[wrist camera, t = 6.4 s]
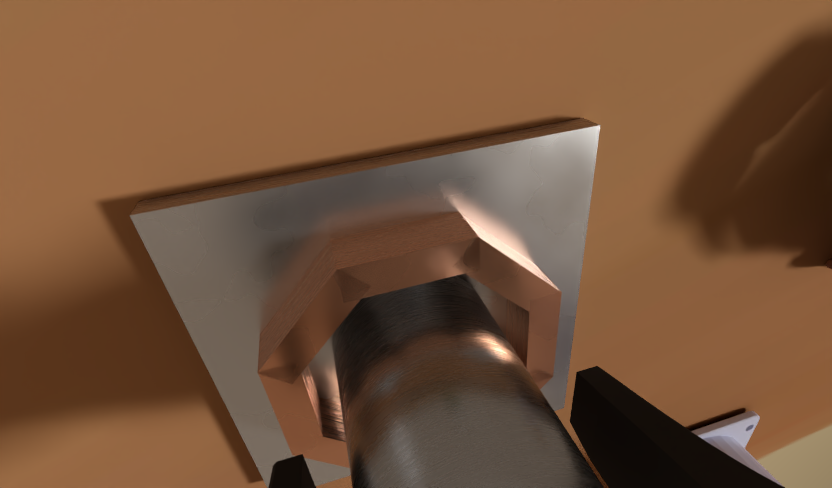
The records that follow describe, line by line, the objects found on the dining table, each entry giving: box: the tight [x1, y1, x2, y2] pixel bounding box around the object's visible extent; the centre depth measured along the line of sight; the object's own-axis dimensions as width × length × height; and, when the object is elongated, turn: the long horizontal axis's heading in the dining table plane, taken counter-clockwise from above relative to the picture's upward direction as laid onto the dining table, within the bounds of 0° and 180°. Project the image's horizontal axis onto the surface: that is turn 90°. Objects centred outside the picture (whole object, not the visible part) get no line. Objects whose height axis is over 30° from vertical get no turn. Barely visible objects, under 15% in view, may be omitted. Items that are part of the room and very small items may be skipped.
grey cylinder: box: [332, 275, 604, 488], centre depth 11 cm, size 5×5×7 cm
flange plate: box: [130, 118, 600, 488], centre depth 14 cm, size 12×12×2 cm
